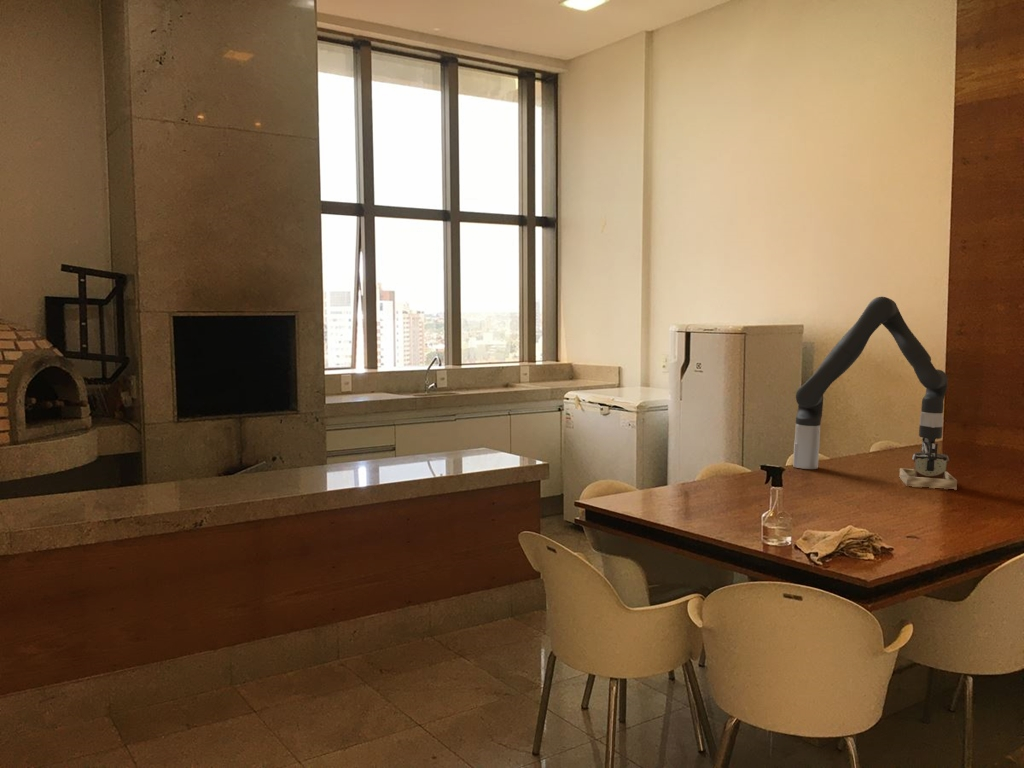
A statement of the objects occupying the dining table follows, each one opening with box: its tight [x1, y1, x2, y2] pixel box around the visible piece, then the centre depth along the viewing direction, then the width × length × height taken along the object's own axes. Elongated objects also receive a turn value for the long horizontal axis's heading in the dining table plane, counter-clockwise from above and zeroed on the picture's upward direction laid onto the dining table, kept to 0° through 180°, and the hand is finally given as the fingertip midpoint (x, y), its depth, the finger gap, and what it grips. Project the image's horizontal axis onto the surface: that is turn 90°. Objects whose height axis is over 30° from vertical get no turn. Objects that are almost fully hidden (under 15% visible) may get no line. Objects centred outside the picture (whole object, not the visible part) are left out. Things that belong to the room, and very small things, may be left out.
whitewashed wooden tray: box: [899, 467, 958, 491], centre depth 295 cm, size 16×16×4 cm
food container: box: [911, 451, 950, 479], centre depth 295 cm, size 12×6×10 cm, turn 83°
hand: (927, 468), depth 295 cm, fingers open, 8 cm apart
